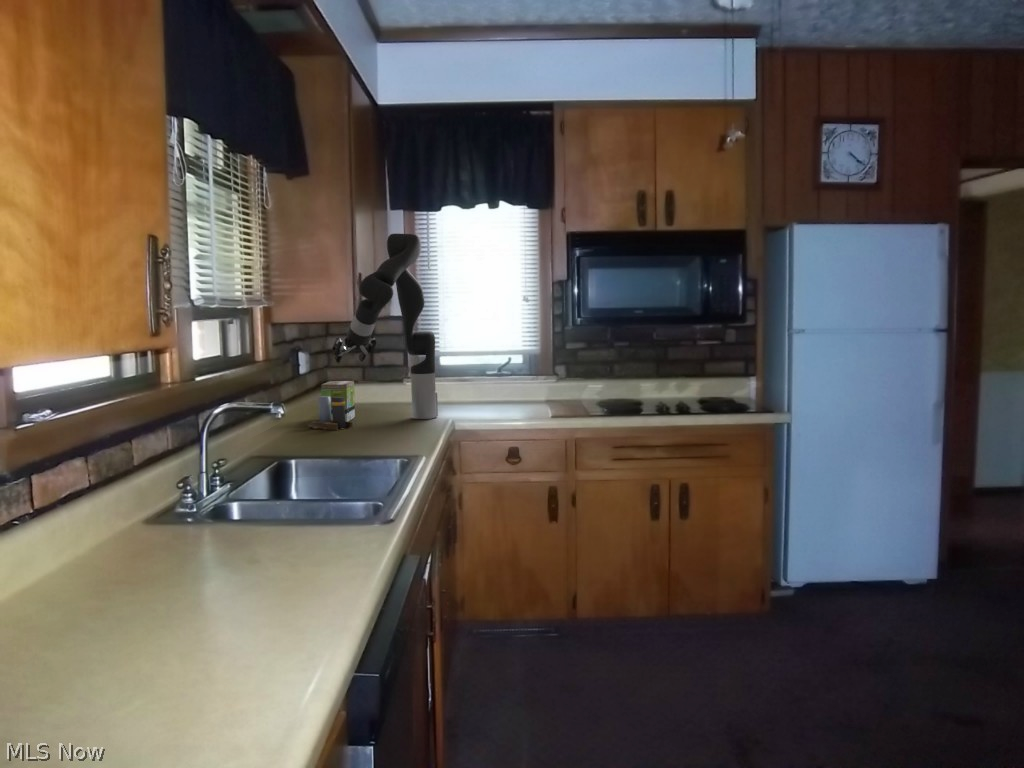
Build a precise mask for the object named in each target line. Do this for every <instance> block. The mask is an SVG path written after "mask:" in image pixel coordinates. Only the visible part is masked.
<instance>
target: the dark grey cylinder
mask: <svg viewBox="0 0 1024 768" xmlns="http://www.w3.org/2000/svg"><path fill="white" fill-rule="evenodd" d="M332 413H333V423H337V424H338V430H342V429H341V428H345V429H346V428H347V427H346V421H345V397H333V398H332Z"/></svg>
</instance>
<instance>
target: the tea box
mask: <svg viewBox="0 0 1024 768" xmlns="http://www.w3.org/2000/svg"><path fill="white" fill-rule="evenodd" d="M320 386H321V387H320V390H321V391H320V394H321V395H320V396H331V419H332V420H333V413H332V398H333V397H345V421H348V422H351V420H353V419H355V418H354V417H356V412H355V411H356V410H355V409H356V407H355V406H356V405H355V404H356V403H355V402H356V400H355V380H333V381H332V380H331V381H327V382H325V383H322V384H320Z"/></svg>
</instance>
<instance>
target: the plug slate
mask: <svg viewBox="0 0 1024 768" xmlns="http://www.w3.org/2000/svg"><path fill="white" fill-rule="evenodd" d="M317 403H318V404H317V405H318V406H317V407H318V421H319V422H324V423H329V422H332V419H331V396H321V395H320V396H317Z"/></svg>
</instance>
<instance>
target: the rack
mask: <svg viewBox="0 0 1024 768" xmlns="http://www.w3.org/2000/svg"><path fill="white" fill-rule="evenodd" d="M309 427H317V428H326V429H334V430H333V431H338V430H339V429H338V424H337V423H333V420H332V422H329V423H324V422H319V420H314V421H308V428H309ZM348 427H352V428H353V421H346V428H348ZM317 428H316V429H317ZM326 429H325V430H326ZM337 429H338V430H337Z"/></svg>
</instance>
